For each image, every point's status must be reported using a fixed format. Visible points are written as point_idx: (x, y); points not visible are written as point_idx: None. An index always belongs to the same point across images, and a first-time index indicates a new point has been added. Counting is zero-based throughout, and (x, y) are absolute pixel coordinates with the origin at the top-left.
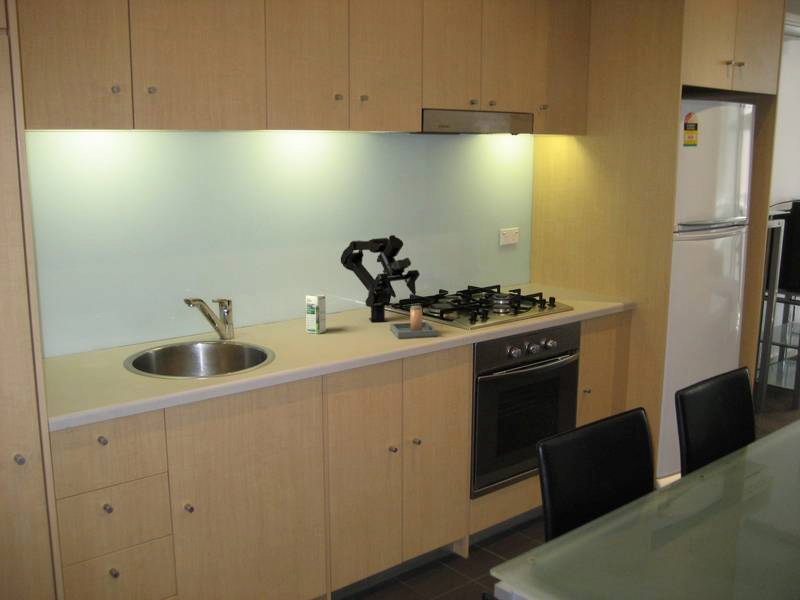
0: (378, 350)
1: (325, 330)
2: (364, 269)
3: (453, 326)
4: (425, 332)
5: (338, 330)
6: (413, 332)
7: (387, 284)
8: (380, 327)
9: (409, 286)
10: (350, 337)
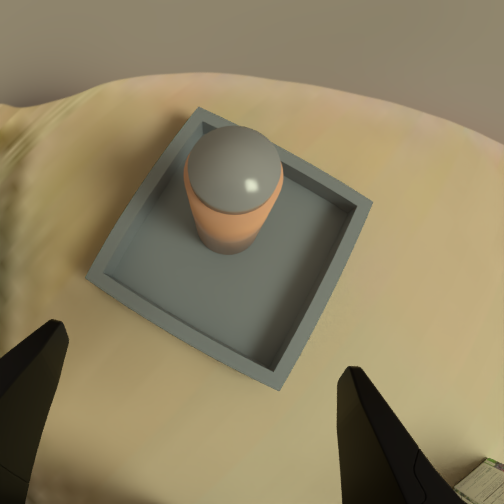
0: (474, 156)
1: (458, 485)
2: None
3: (13, 215)
4: None
5: None
6: (304, 162)
7: (462, 501)
8: (271, 452)
9: (17, 467)
10: (466, 366)
